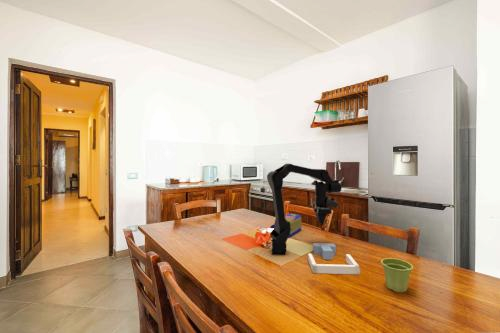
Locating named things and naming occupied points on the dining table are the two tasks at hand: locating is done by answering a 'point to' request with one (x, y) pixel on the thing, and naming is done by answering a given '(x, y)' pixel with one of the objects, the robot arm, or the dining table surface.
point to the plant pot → (396, 274)
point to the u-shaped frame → (335, 266)
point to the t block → (325, 250)
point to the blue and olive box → (293, 223)
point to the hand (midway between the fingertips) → (320, 224)
